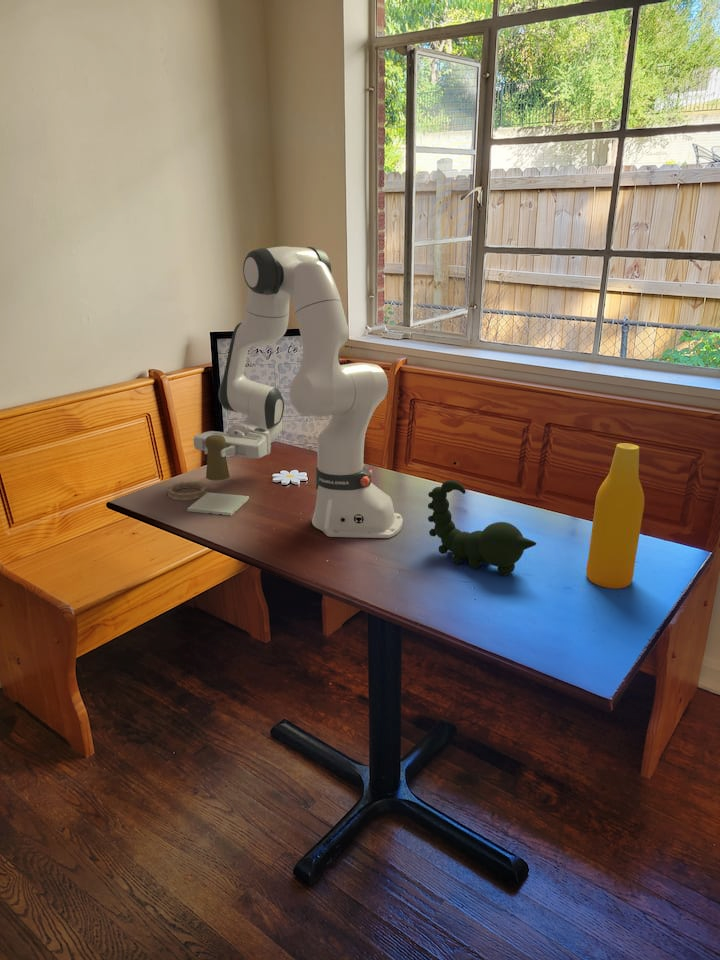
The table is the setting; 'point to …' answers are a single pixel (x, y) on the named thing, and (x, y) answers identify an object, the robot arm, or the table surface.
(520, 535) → the toy figurine
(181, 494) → the ring
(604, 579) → the beer bottle
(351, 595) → the table surface
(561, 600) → the table surface
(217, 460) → the cork
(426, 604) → the table surface
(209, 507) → the ceramic tile
